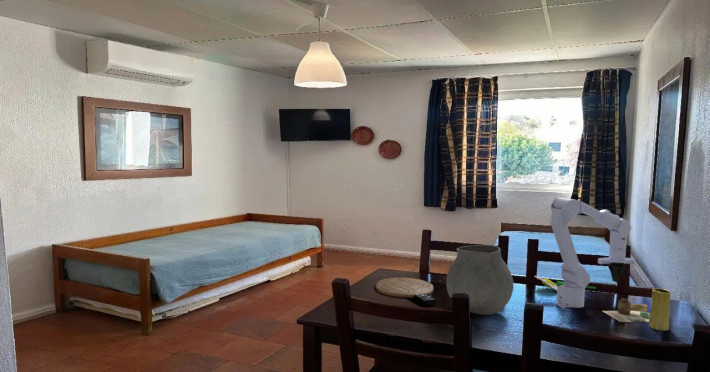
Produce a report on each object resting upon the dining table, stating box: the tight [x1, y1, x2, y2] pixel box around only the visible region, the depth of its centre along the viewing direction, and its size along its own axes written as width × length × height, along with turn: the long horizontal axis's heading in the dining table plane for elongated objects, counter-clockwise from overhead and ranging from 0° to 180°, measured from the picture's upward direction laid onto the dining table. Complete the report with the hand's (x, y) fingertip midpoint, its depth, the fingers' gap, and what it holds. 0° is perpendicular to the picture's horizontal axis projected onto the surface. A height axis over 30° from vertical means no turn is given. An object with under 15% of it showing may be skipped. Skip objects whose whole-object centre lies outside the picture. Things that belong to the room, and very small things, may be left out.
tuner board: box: [602, 310, 650, 323], centre depth 173 cm, size 16×11×2 cm
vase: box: [648, 287, 671, 331], centre depth 162 cm, size 6×6×14 cm
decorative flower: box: [534, 275, 596, 292], centre depth 208 cm, size 13×5×30 cm
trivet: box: [375, 277, 434, 299], centre depth 205 cm, size 25×25×2 cm
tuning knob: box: [617, 297, 648, 315], centre depth 175 cm, size 10×4×5 cm, turn 76°
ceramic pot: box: [446, 244, 514, 316], centre depth 177 cm, size 24×24×25 cm
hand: (615, 281), depth 187 cm, fingers closed
